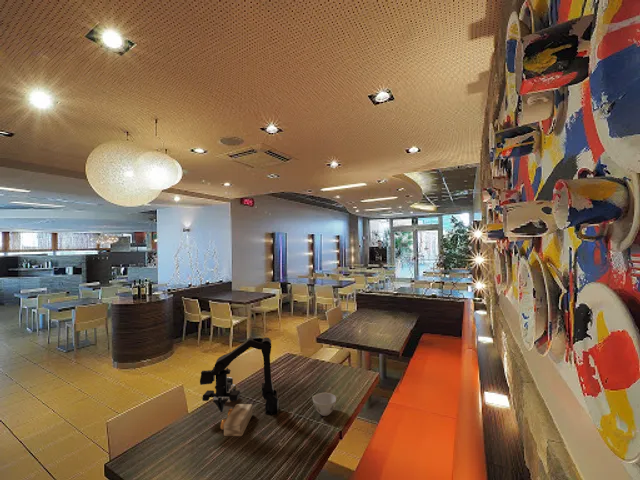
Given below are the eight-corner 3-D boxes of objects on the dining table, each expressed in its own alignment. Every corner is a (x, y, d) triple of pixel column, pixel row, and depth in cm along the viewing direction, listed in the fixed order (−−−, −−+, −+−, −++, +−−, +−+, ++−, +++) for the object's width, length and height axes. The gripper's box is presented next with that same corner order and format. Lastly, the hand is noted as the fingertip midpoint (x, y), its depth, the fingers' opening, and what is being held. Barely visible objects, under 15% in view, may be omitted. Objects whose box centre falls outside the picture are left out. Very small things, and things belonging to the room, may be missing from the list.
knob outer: (243, 426, 141) (243, 417, 141) (240, 432, 137) (240, 422, 137) (224, 425, 142) (223, 417, 142) (220, 431, 138) (220, 422, 138)
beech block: (252, 414, 152) (252, 404, 152) (241, 436, 135) (241, 424, 135) (236, 414, 153) (236, 404, 153) (223, 435, 136) (223, 424, 136)
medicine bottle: (230, 402, 164) (229, 381, 165) (219, 401, 166) (218, 380, 166) (236, 396, 171) (235, 376, 172) (225, 395, 173) (225, 375, 173)
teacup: (341, 411, 153) (340, 396, 153) (326, 423, 144) (326, 407, 144) (319, 402, 163) (319, 388, 163) (305, 412, 153) (304, 397, 153)
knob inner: (249, 415, 150) (248, 407, 150) (246, 420, 146) (246, 411, 146) (230, 415, 151) (230, 406, 151) (227, 420, 146) (227, 411, 147)
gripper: (243, 375, 158) (243, 403, 157) (210, 375, 159) (211, 403, 158) (236, 385, 147) (237, 415, 146) (201, 385, 148) (202, 415, 147)
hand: (221, 411), depth 150 cm, fingers closed
